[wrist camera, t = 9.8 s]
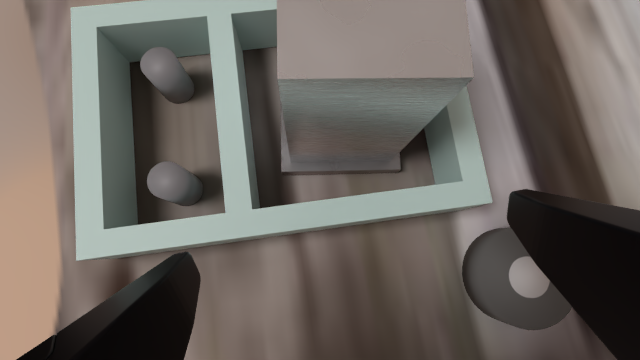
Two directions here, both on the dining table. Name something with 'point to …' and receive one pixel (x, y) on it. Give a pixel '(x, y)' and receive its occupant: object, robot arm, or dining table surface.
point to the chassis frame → (233, 131)
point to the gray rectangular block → (364, 79)
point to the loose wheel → (510, 283)
